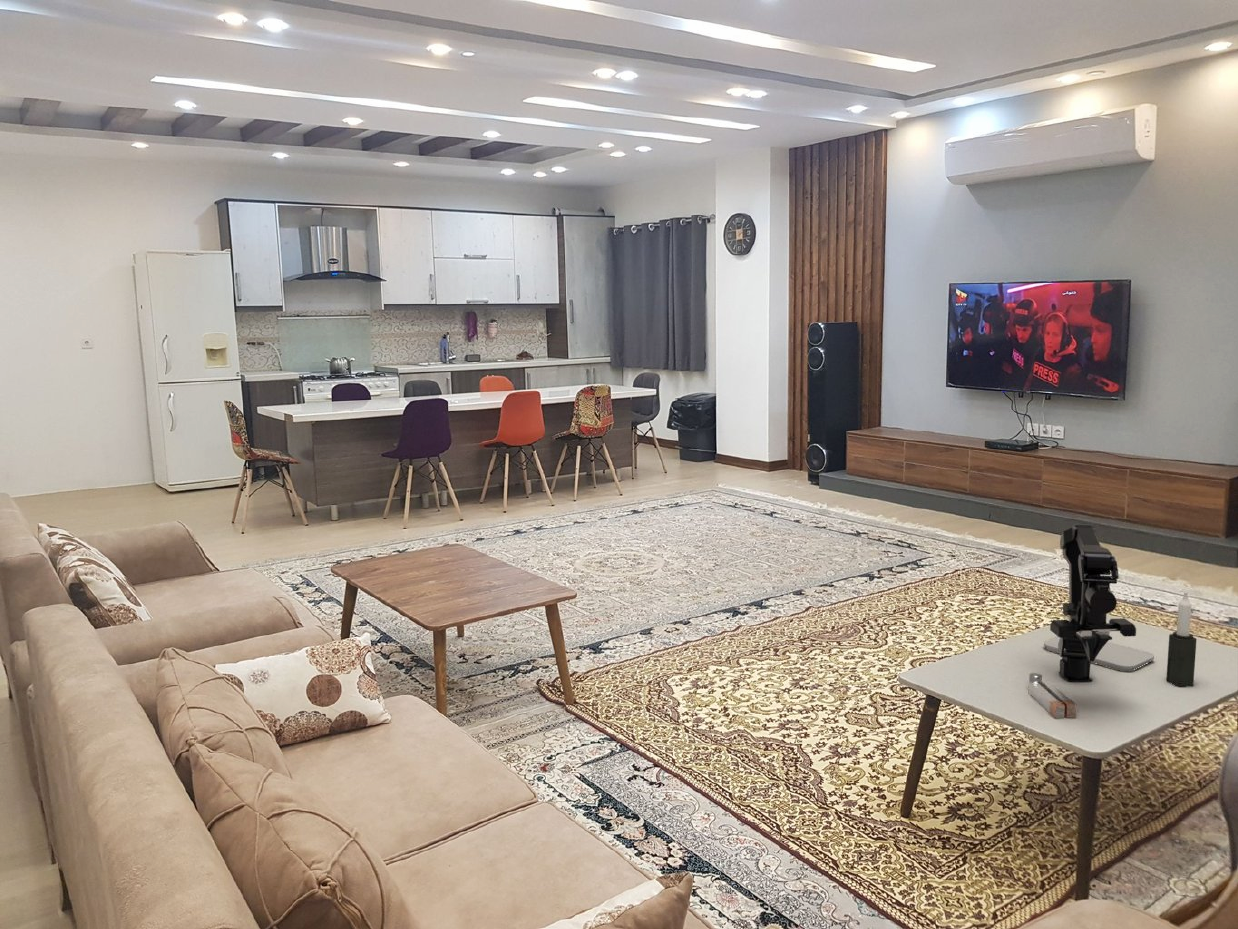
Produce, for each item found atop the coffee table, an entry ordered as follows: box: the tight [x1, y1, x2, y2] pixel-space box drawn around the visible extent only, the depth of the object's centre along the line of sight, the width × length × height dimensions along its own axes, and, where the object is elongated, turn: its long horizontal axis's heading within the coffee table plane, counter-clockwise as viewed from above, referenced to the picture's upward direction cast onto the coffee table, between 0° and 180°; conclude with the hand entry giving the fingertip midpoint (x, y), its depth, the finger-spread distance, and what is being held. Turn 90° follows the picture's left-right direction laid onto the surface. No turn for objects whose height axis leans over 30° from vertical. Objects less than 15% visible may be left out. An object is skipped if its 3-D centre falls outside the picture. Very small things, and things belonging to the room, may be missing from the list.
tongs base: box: [1028, 672, 1065, 719], centre depth 239 cm, size 20×4×4 cm, turn 179°
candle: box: [1166, 591, 1198, 688], centre depth 248 cm, size 5×5×25 cm
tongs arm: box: [1041, 679, 1078, 718], centre depth 238 cm, size 16×2×3 cm, turn 178°
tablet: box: [1043, 635, 1155, 672], centre depth 272 cm, size 16×26×2 cm, turn 35°
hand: (1090, 660), depth 236 cm, fingers closed
